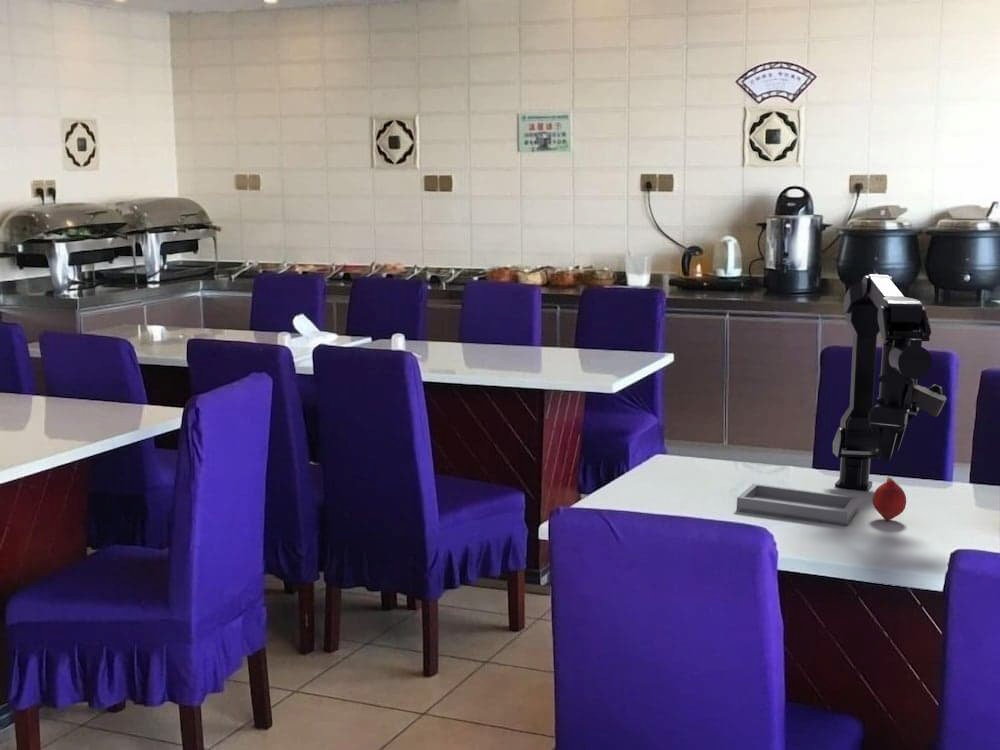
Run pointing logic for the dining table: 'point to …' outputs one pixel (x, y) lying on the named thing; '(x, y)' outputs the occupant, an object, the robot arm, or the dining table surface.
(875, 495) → the onion
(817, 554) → the dining table surface
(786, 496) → the tray
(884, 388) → the robot arm
